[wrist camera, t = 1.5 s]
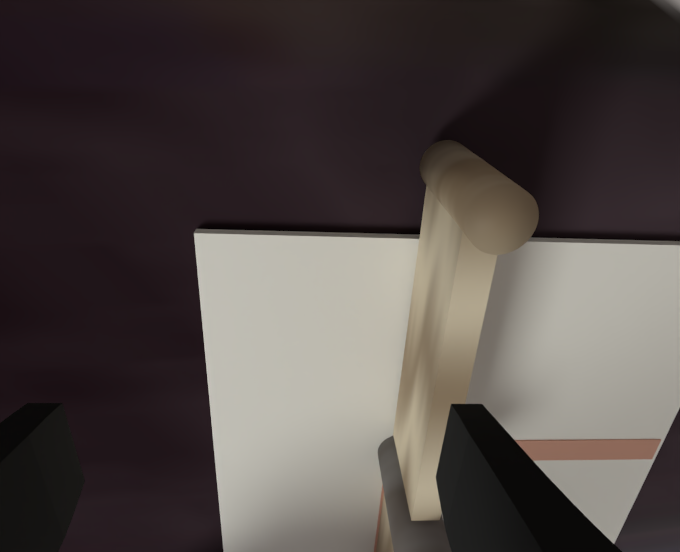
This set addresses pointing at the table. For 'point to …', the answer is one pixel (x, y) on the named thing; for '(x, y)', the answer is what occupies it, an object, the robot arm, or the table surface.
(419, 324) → the beige long t-shaped piece
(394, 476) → the fixed fence section
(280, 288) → the mat
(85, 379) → the table surface
